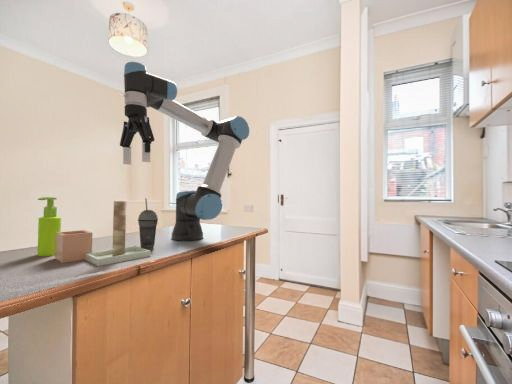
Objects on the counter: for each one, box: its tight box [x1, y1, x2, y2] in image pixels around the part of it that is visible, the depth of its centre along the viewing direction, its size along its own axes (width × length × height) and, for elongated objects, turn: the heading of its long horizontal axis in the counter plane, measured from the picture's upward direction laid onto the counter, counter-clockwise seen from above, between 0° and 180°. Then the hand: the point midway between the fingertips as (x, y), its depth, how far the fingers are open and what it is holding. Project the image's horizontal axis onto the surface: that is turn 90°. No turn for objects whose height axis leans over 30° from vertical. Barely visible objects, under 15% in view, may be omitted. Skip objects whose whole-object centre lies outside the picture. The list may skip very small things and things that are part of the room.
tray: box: [84, 245, 152, 267], centre depth 82 cm, size 16×11×3 cm
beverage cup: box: [137, 198, 159, 251], centre depth 98 cm, size 7×7×20 cm
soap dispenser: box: [37, 196, 62, 257], centre depth 84 cm, size 6×7×20 cm
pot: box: [54, 229, 93, 264], centre depth 80 cm, size 8×8×9 cm
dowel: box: [112, 200, 127, 256], centre depth 82 cm, size 4×4×18 cm
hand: (136, 163), depth 94 cm, fingers open, 13 cm apart
